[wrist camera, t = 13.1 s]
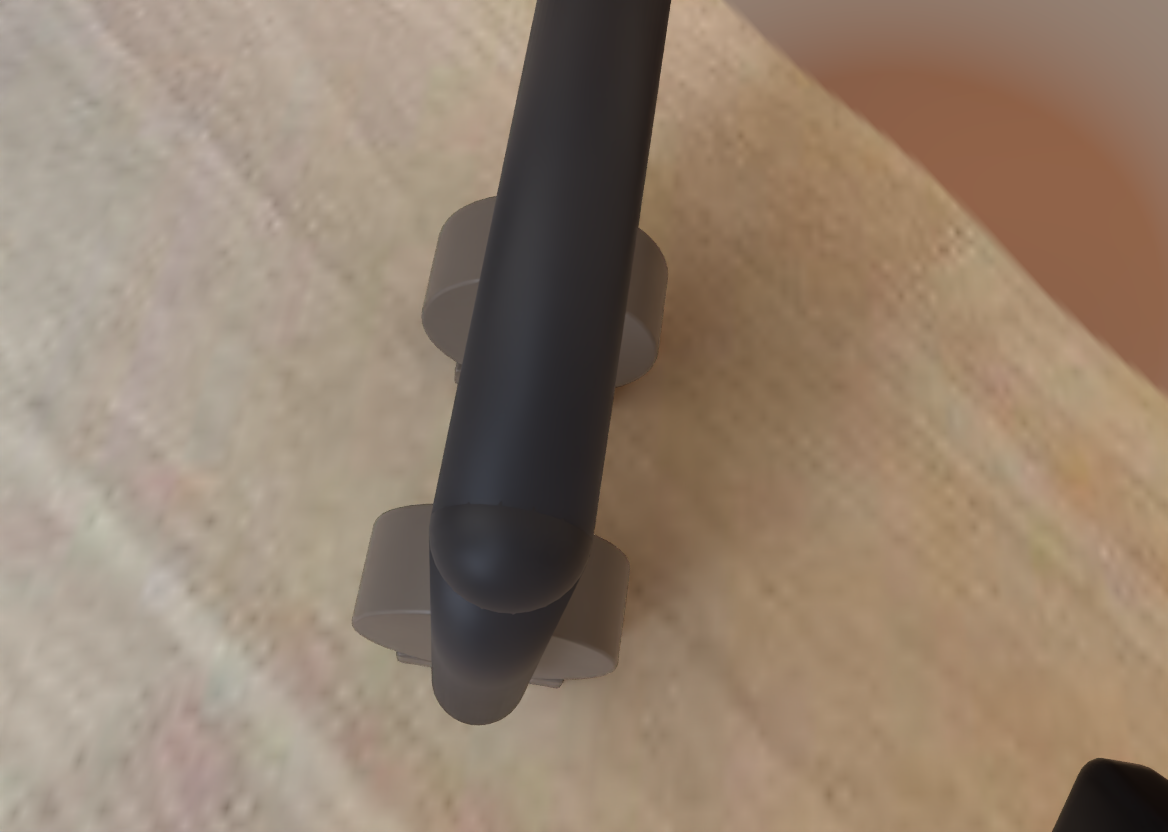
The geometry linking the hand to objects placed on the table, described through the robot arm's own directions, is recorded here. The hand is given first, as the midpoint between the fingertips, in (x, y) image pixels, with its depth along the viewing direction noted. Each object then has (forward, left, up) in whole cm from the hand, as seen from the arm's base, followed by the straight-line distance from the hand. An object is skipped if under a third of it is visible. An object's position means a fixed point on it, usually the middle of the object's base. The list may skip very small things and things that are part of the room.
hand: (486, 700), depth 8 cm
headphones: (+2, +5, -11) cm, 12 cm away
